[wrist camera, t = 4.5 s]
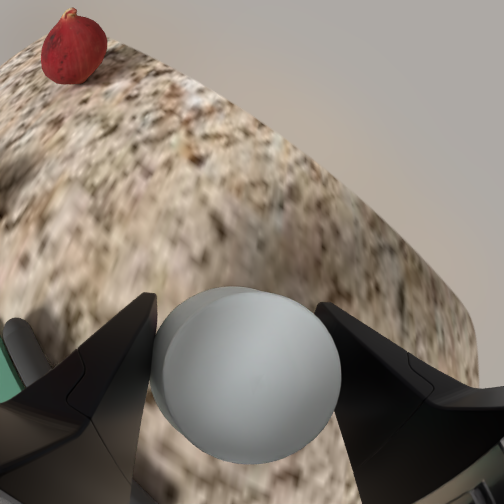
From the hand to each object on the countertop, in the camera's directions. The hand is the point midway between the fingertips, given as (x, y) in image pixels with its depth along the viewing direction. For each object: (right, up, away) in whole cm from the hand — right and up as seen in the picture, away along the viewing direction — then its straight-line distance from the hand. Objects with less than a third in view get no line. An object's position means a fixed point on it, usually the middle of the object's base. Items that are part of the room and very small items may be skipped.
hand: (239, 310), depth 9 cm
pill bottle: (-2, -4, +6) cm, 7 cm away
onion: (-15, +17, +10) cm, 24 cm away
